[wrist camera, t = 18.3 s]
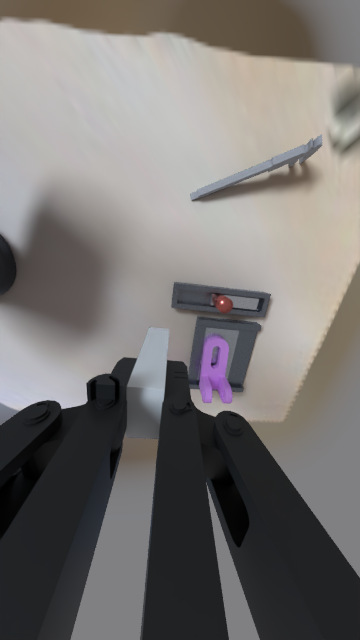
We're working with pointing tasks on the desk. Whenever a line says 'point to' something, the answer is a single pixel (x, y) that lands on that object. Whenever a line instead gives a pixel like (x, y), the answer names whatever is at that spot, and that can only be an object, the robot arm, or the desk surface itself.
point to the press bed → (240, 348)
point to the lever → (232, 302)
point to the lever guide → (201, 295)
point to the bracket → (215, 371)
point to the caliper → (263, 167)
